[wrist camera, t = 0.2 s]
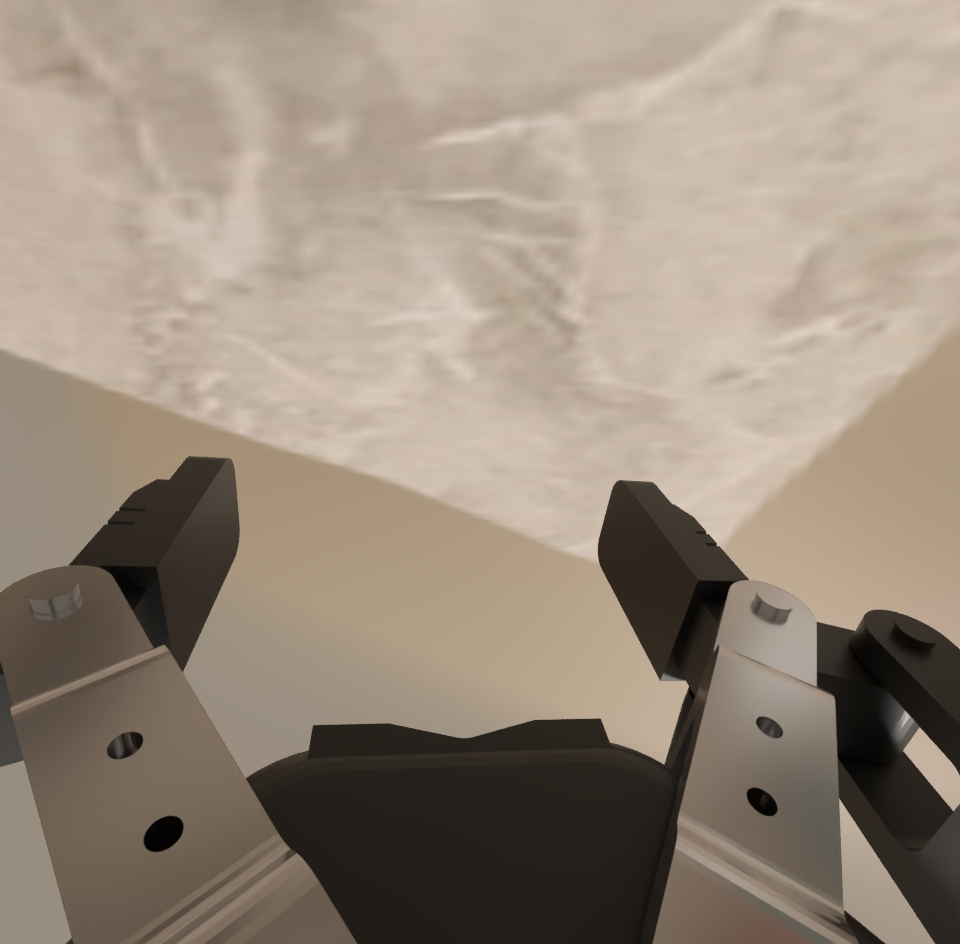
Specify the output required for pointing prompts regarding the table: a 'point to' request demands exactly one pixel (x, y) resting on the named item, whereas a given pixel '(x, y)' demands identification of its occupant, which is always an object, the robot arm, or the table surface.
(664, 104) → the table surface
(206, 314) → the table surface
